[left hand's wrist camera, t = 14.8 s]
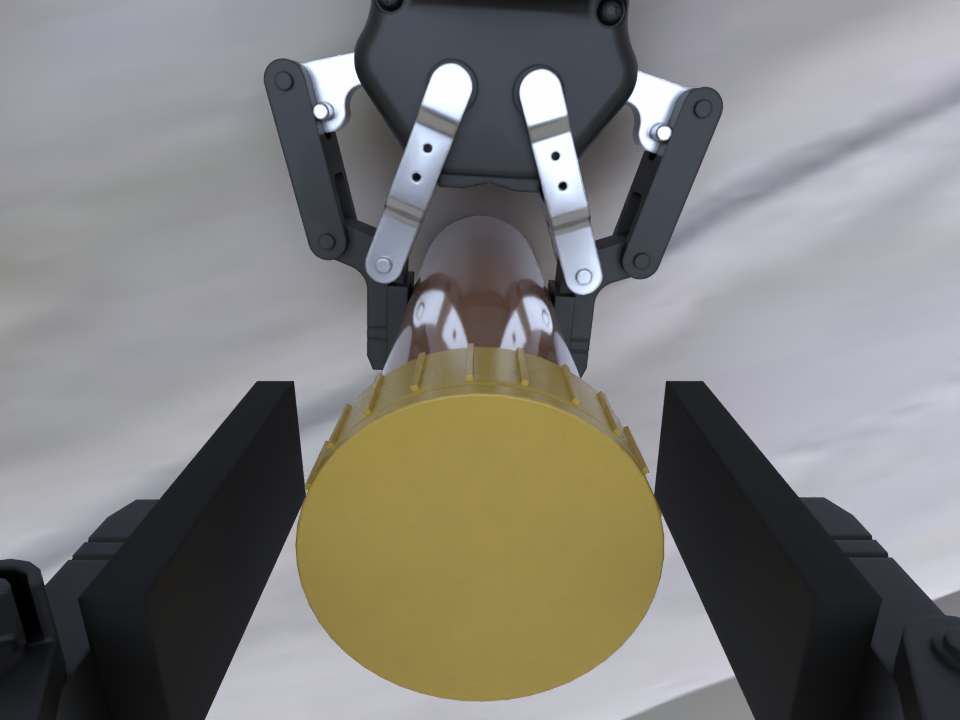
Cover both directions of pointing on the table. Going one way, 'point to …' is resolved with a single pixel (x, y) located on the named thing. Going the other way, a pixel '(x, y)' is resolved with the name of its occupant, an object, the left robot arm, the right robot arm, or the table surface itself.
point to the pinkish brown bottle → (479, 297)
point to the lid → (479, 527)
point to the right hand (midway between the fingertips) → (476, 381)
